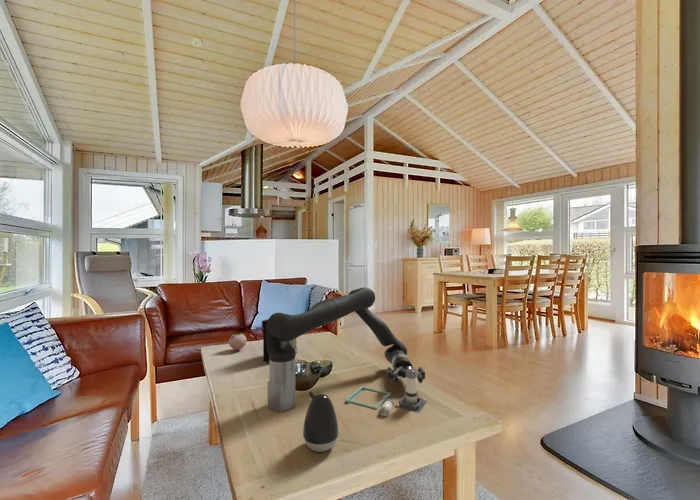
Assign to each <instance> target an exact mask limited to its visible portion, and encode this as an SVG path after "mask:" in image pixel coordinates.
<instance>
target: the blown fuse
mask: <svg viewBox="0 0 700 500" xmlns="http://www.w3.org/2000/svg"><path fill="white" fill-rule="evenodd" d="M415 369H416V368H415ZM415 369H406V378H405V394H406V403H408V404H413V405H417V397H418V379H417V376H418V374H417V370H415Z"/></svg>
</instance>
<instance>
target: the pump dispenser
mask: <svg viewBox="0 0 700 500" xmlns="http://www.w3.org/2000/svg"><path fill="white" fill-rule="evenodd" d="M308 395H309V396H310V397H309V398H311V400H310V403H309V404H308V407H307V411H306V414H305V418H304V423H303V429H302V437H303V439H304V441H305V444H306V446H307V447H308V448H309V449H310V450H311V451H314V452H318V453H321V452H326V451H328V450H329V451H330V449H332V448H333V447H334V445H335V444H336V441H337V438H338V437H339V424H338V419H337V414H336V411H335V408H334V404H333V403H332V402H333V401H332V400H331V399H330V397H329V396H328V395H326V394H324V393H318V394H315V393H314V392H312V391H310V392H309V393H308Z"/></svg>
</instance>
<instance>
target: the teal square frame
mask: <svg viewBox="0 0 700 500" xmlns="http://www.w3.org/2000/svg"><path fill="white" fill-rule="evenodd" d="M365 390H368V391H372V392H376V393H380V394H384V395H385V396H384V397H383V398H382V399H381V400H380V401H378V403H377V404H376V405H372V404H368V403H364V402H361V401H356V400H354V399H355V398H357V397H359V395H360V394H361V393H362V392H364V391H365ZM391 396H392V392H388V391H384V390H381V389H376V388H372V387H367V386H360V387H359V388H358V389H357V390H355V391H354V392H353V393H352V394H350V395H349V396H348V397H347V398H345V399H344V402H345V403H346V404H349V403H352V404H355V405H358V406H362V407H366V408H369V409H374V410H378V409H379V408H380V407H381V406H382V405H383V404H384V402H385V400H386V399H389V397H391Z"/></svg>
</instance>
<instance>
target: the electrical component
mask: <svg viewBox="0 0 700 500" xmlns="http://www.w3.org/2000/svg"><path fill="white" fill-rule="evenodd" d="M268 319H269V318H268ZM268 319H263V320H261V327H262V328H260V330H261V333H262V336H263V337H262V338H263V342H262V343H263V346H262V348H263V353H262V354H263V362H265V363H269V353H268V350H267V339H266V326H267V322H268ZM289 342H290V344H291V346H292V347H293V348H294V349H295V355H296V354H298V353H299V349H298V347H297V338H295V339H293V340H291V341H289Z"/></svg>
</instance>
